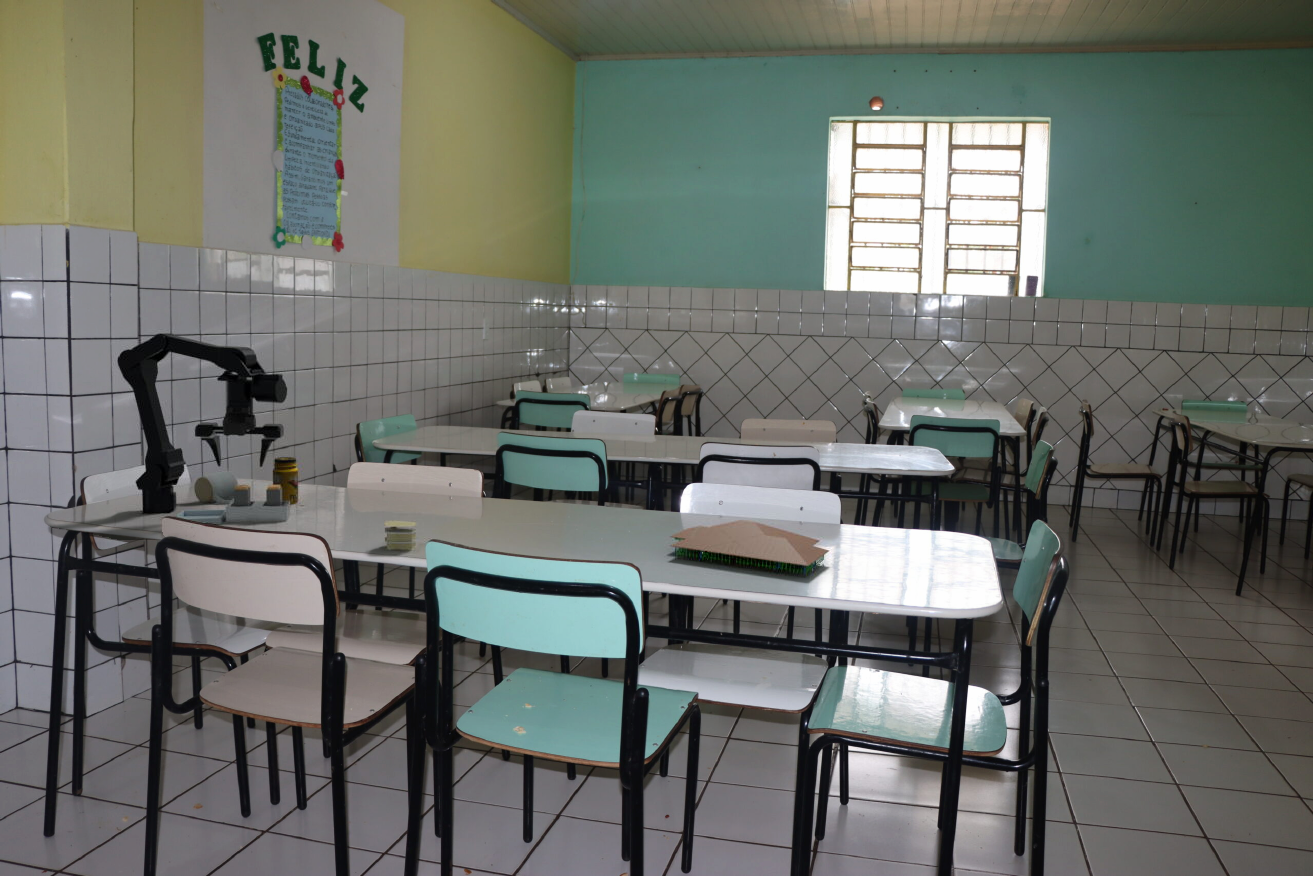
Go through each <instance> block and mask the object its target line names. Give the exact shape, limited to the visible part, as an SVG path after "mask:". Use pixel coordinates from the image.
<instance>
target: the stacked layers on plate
mask: <svg viewBox="0 0 1313 876" xmlns="http://www.w3.org/2000/svg"><path fill="white" fill-rule="evenodd" d="M417 524H418V522H412V521H403V520H386V521H385V522H384V526H385V527H384V533H386V536H385V537H384V542H385V543H386V550H387V549H413V548H414V547H415V546H416V544H417V543H416V541H418V537H416V532H417V531H418V528H416V527H415V526H416V525H417ZM414 527H415V528H414ZM415 548H416V547H415ZM415 548H414V549H415ZM414 549H413V550H414Z"/></svg>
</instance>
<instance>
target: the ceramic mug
mask: <svg viewBox="0 0 1313 876" xmlns="http://www.w3.org/2000/svg"><path fill="white" fill-rule="evenodd" d="M237 485H239V483H238V480H237V477H236V476H235V475H234V473H233V472H232V471H230V470H223V471H218V472H214V473H210V474H206V475H203V476H200V477H198V478H197V479H196V480H195V482H194V494H195V497H196V498H197V500H198V501H199V502H201V503H202V504H216V503H217V504H219V505H228V504H229V503H230V502H231V501H234V489H235V487H236V486H237Z"/></svg>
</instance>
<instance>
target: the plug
mask: <svg viewBox="0 0 1313 876" xmlns="http://www.w3.org/2000/svg"><path fill="white" fill-rule="evenodd" d="M233 500H234V506H251V501H252V500H251V486H249V484H238V485H237V486H236V487H235V489H234V499H233Z"/></svg>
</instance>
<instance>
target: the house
mask: <svg viewBox="0 0 1313 876" xmlns="http://www.w3.org/2000/svg"><path fill="white" fill-rule="evenodd" d="M669 538H674V540H675V541H677V542H675V543H672V544H671V545H669V546H670V547H673V548H674V551H675V552H674V556H675V555H677V556H678V554H679V555H680V556H681V554H682V555H685V556H687V555H688V556H692V557H694V556H696V557H699V560H700V559H701V558H702V559H703V558H704V557H705V558H706V556H707V555H708V558H706V560H708V561H709V559H710V561H712V559H713V554H715V555H716V554H718V558H716V557H714V560H718V561H719V560H720V557H719V553H721V557H723V555H729V558H728V563H731V556H733V557H734V556H736V557H740V558H739V564H741V563H743V564H745V561H741V559H742V558H747V559H749V558H750V559H751V561H750V562H749V561H747V562H746V564H747V565H748V566H749V564H750V566H751V565H753V559H754V561H756V559H757V560H762V565H761V567H769V568H771V567H773V566H772V565H768V564H767V563H768V561H769V563H771V562H775V563H777V566H774V569H777V570H778V569H779V568H780V569H781V571H782V570H783V566H784V565H785V568H784V569H785V570H789V571H791V570H792V571H794V572H795V571H796V572H801V573H802V574H804V573H805V574H806V573H807V572H808V571H809V570H810V571H811V569H812V568H813V569H814V567H815V566H816V567H817V564H819V563H821V562H822V561H823V560H824V561H825V555H826V554H828V552H830V550H828V549H824V548H823V547H819V546H818V547H817V546H815V545H816V544H817V543H819V542H820V541H821V540H819V539H817V538H812V537H809V536H805V535H802V534H798V533H794V532H791V531H787V530H784V529H781V528H778V527H775V526H774V527H773V526H771V525H767V524H763V523H760V522H756V521H751V520H744V519H740V520H735V521H730V522H727V523H720V524H716V525H712V526H710V527H709V526H702V525H698V526H693V527H689V528H686V529H683V530H681V531H679V532H677V533H674V534H672V535H670V536H669ZM680 549H681V551H680ZM682 550H683V553H681V552H682ZM688 550H692V551H693V553H692V554H691V553H689V554H688V553H687V551H688ZM684 551H685V554H684ZM695 551H699V555H698V554H694V552H695ZM705 551H707V552H706V553H705ZM702 552H703V556H702ZM709 553H711V557H710V556H709ZM718 561H717V562H718ZM721 561H725V562H726V563H727V560H725V559H723V558H721ZM764 561H765V565H764ZM735 562H736V563H738V559H736V560H735ZM789 563H790V566H789V567H791V566H792V565H796V566H797V565H798V566H801V565H802V567H803V566H804V569H803V570H799V569H793V568H787V564H788V565H789ZM747 565H746V566H747ZM756 565H758V566H760V563H756ZM783 571H784V570H783ZM801 573H800V574H801Z"/></svg>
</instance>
